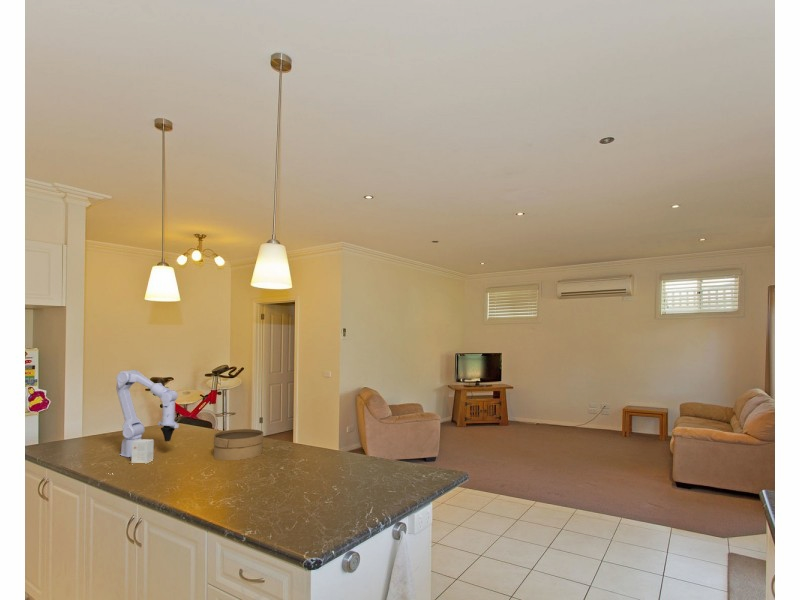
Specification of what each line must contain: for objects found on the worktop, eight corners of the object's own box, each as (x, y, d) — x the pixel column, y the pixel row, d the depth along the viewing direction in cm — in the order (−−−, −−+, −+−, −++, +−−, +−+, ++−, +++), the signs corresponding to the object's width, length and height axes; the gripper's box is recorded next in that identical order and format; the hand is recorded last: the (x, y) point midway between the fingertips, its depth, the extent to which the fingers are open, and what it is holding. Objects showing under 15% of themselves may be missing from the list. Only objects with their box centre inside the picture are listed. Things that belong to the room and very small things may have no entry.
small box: (153, 460, 235) (154, 439, 235) (146, 463, 229) (147, 441, 230) (138, 460, 235) (139, 438, 236) (130, 463, 230) (131, 441, 231)
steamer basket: (228, 463, 230) (229, 440, 231) (204, 455, 247) (205, 433, 248) (272, 454, 249) (272, 433, 250) (246, 447, 265) (247, 427, 266)
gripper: (184, 414, 245) (183, 441, 244) (167, 412, 252) (166, 437, 251) (171, 416, 239) (170, 443, 238) (154, 413, 246) (153, 440, 245)
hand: (167, 440), depth 244 cm, fingers closed
